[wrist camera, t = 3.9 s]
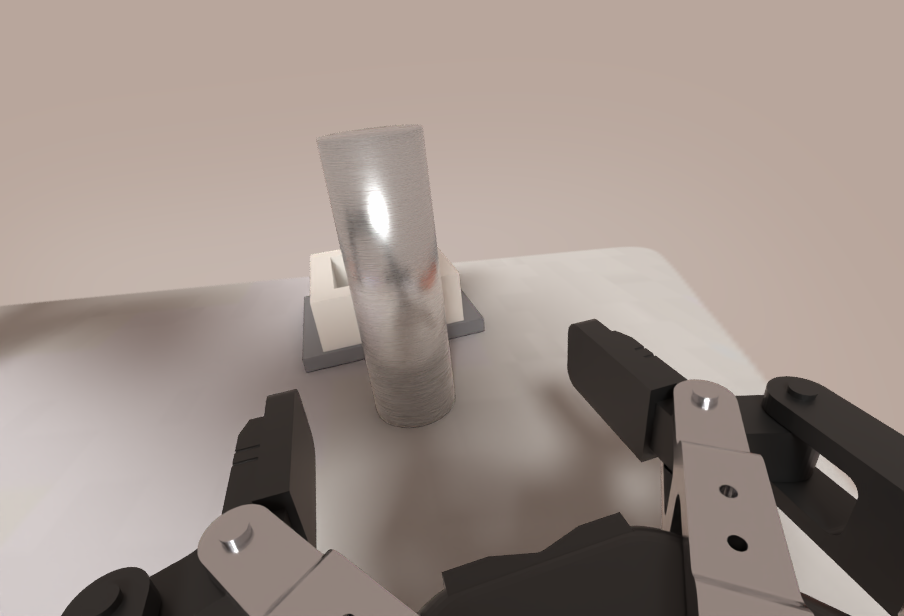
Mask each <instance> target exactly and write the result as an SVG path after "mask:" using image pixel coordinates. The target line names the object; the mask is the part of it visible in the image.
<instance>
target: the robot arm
mask: <svg viewBox="0 0 904 616" xmlns="http://www.w3.org/2000/svg"><path fill="white" fill-rule="evenodd" d="M567 369H568V374H569V378H570V380H571V382H572V384H573V386H574V387H575V388H576V389H577V391H578V392H579V393H580V394H581V395H582V396H583V397H584V398H585V400H586V401H587V402H588V403H589V404H590V405H591V406H592V407H593V408H594V410H595V411H596V412H597V413H598V414H599V415H600V416H601V417H602V419H603V420H604V421H605V422H606V423H607V424H608V425H609V426H610V427H611V429H612V430H613V431H614V432H615V433H616V434H617V435H618V436H619V438H620V439H621V440H622V441H623V442H624V443H625V444H626V445H627V446H628V448H629V449H630V450H631V451H632V452H633V453H634V454H635V455H636V457H637V458H638V459H639V460H640V461H641V462H644V461H647V460H650V459H653V458H656V457H659V459H660V460H661V461H662V467H661V501H662V530H661V529H658V528H652V527H645V526H629V524H628V523H627V522H626V520H625V519H624V518H623V516H622V515H621V513H620V512H619V513H616V514H613V515H610V516H607V517H604V518H601V519H598V520H595V521H592V522H589V523H586V524H583V525H580V526H578V527H577V528H575V529H574V530H572V531H571V532H569V533H568V534H566V535H565V536H564V537H562V538H561V539H559V540H558V541H556V542H555V543H554V544H552V545H551V546H549V547H548V548H546V549H545V550H543V551H541V552H538V553H529V554H516V555H503V556H490V557H486V558H483V559H480V560H477V561H474V562H471V563H468V564H465V565H462V566H459V567H456V568H453V569H450V570H447V571H444V572H442V577H443V582H444V588H445V589H444V590H442V591H441V592H440V593H438V594H437V595H435V596H434V597H433V598H432V599H431V600H430V601H428V602H427V603H426V604H425V605H424V606H423V607H422V609H421V610H420V611H419V612H418V613H415V612H414V611H413V610H412V609H410V608H409V607H408V606H407V605H405V604H404V603H403V602H401V601H400V600H399V599H398V598H396V597H395V596H394V595H393V594H391V593H390V592H389V591H388V590H386V589H385V588H384V587H382V586H381V585H380V584H379V583H377V582H376V581H375V580H374V579H372V578H371V577H370V576H369V575H367V574H366V573H365V572H363V571H362V570H361V569H360V568H358V567H357V566H356V565H355V564H353V563H352V562H351V561H349V560H348V559H347V558H346V557H344V556H343V555H342V554H340V553H339V552H337V551H335V550H332V549H330V550H328V551H327V552H326V553H325V554H323V553H321V552H320V551H318V550H317V549H316V472H315V448H314V442H313V437H312V433H311V430H310V427H309V423H308V420H307V417H306V414H305V411H304V408H303V404H302V401H301V398H300V395H299V392H298V391H297V389H294V390H290V391H286V392H282V393H278V394H273V395H269V396H267V400H266V407H265V413H264V416H263V417H259V418H255V419H251V420H249V421H248V423H247V424H246V426H245V427H244V428H243V430H242V431H241V432H240V434H239V435H238V440H237V444H236V449H235V452H236V454H234V459H233V463H232V464H233V467H232V468H231V473H230V477H229V482H228V487H227V492H226V496H225V501H224V506H223V510H222V515H221V516H220V517H218V518H217V519H216V520H215V521H213V522H212V523H211V525H210V526H209V527H208V528H207V529H206V530H205V532H204V533H203V535H202V537H201V539H200V541H199V544H198V549H196V550H195V551H194V552H192V553H191V554H189V555H188V556H186V557H184V558H183V559H181V560H179V561H177V562H176V563H174V564H172V565H170V566H168V567H167V568H165V569H163V570H161V571H159V572H158V573H156V574H154V575H152V576H150V577H149V576H148V574H147V573H146V572H145V571H144V570H142V569H140V568H137V567H127V568H122V569H118V570H115V571H113V572H110V573H108V574H106V575H104V576H102V577H100V578H99V579H97V580H96V581H94V582H93V583H91V584H90V585H89V586H87V587H86V588H85V589H84V590H82V591H81V592H80V593H79V594H78V595H77V596H76V597H75V598H74V599H73V600H72V601H71V603H70V604H69V605H68V606H67V608H66V609H65V611H64V612H63V614H62V615H61V616H850V615H848V614H846V613H844V612H842V611H840V610H838V609H836V608H833V607H831V606H829V605H827V604H825V603H823V602H821V601H819V600H817V599H814V598H812V597H810V596H808V595H806V594H804V593H802V592H800V590H799V586H798V583H797V579H796V575H795V572H794V568H793V564H792V561H791V557H790V554H789V550H788V546H787V543H786V539H785V535H784V532H783V528H782V524H781V521H780V517H779V514H778V510H777V507H778V508H779V509H780V510H782V511H783V512H784V513H785V514H786V515H787V516H788V517H789V518H790V519H791V520H792V521H793V522H794V523H795V524H796V525H797V526H798V527H799V528H800V529H801V530H802V531H803V532H804V533H805V534H807V535H808V536H809V537H810V538H811V539H812V540H813V541H814V542H815V543H816V544H817V545H818V546H819V547H820V548H821V549H822V550H823V551H824V552H825V553H826V554H827V555H828V556H829V557H830V558H831V559H833V560H834V561H835V562H836V563H837V564H838V565H839V566H840V567H841V568H842V569H843V570H844V571H845V572H846V573H847V574H848V575H849V576H850V577H851V578H852V579H853V580H854V581H855V582H856V583H858V584H859V585H860V586H861V587H862V588H863V589H864V590H865V591H866V592H867V593H868V594H869V595H870V596H871V597H872V598H873V599H874V600H875V601H876V602H877V603H878V604H879V605H880V606H881V607H883V608H884V609H885V610H886V611H887V612H888V613H889V614H890V615H891V616H904V436H903V435H902V434H900V433H898V432H897V431H895V430H894V429H892V428H890V427H889V426H887V425H885V424H884V423H882V422H881V421H879V420H877V419H876V418H874V417H872V416H871V415H869V414H868V413H866V412H864V411H863V410H861V409H860V408H858V407H856V406H855V405H853V404H851V403H850V402H848V401H847V400H845V399H843V398H842V397H840V396H838V395H837V394H835V393H834V392H832V391H830V390H829V389H827V388H826V387H824V386H822V385H820V384H818V383H815V382H813V381H810V380H807V379H803V378H798V377H787V376H786V377H777V378H774V379H772V380H770V381H769V382H768V383H767V386H766V390H765V393H764V395H749V396H735V395H734V394H733V393H732V392H731V391H729V390H728V389H727V388H725V387H723V386H721V385H719V384H716V383H713V382H710V381H705V380H687V379H686V378H684V377H683V376H682V375H680V374H679V373H678V372H677V371H675V370H674V369H673V368H671V367H670V366H669V365H667V364H666V363H665V362H663V361H662V360H661V359H659V358H658V357H657V356H654V355H653V353H652V352H650V351H649V350H648V349H646V348H644V346H642V345H641V344H640V343H638V342H637V341H636V340H635V339H633V338H632V337H630V336H627V335H625V334H622V333H620V332H617V331H611V330H609V329H608V328H607V327H606V326H604V325H603V324H602V323H601V322H599V321H598V320H596V319H592V320H588V321H583V322H579V323H575V324H571V325H570V327H569V330H568V362H567ZM820 454H821V455H822V456H823V457H825V458H826V459H827V460H829V461H830V462H831V463H833V464H834V465H835V466H837V467H838V468H839V469H840V470H842V471H843V472H844V473H846V474H847V475H848V476H849V477H850V478H851V479H852V481H853V482H854V484H855V485H856V487H857V490H858V499H857V500H856V499H855V498H854V497H853V496H851V495H850V494H849V493H848V492H846V491H845V490H844V489H843V488H841V487H840V486H839V485H838V484H836V483H835V482H834V481H833V480H831V479H830V478H829V477H828V476H826V475H825V474H824V473H823V472H821V471H820V470H819V469H818V468H816V467H815V466H816V463H817V460H818V458H819V455H820Z"/></svg>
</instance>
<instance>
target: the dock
mask: <svg viewBox="0 0 904 616" xmlns="http://www.w3.org/2000/svg"><path fill="white" fill-rule="evenodd" d="M437 249H438V257H439V266H440V274H441V282H442V290H443V299H444V307H445V315H446V323H447V332H448V339H451V338H456V337H460V336H464V335H468V334H473V333H477V332H481V331H484V320H483V317H482V316H481V314H480V313H479V312H478V310H477V309H476V308H475V307H474V305H473V304H472V303H471V301H470V300H469V299H468V298H467V296H466V295H465V294H464V292H463V291H462V290H461V287H460V277H459V272H458V271H457V270H456V268H455V267H454V266H453V265H452V264H451V263H450V261H449V260H448V259H447V258H446V257H445V255H444V254H443V253H442V252H441V251H440V249H439V248H438V247H437ZM362 359H365V356H364V351H363V347H362V342H361V338H360V333H359V329H358V324H357V320H356V315H355V311H354V307H353V302H352V298H351V293H350V289H349V284H348V280H347V275H346V271H345V266H344V262H343V257H342V253H341V249H339V250H334V251H328V252H323V253H318V254H312V255H310V296H306V297H304V323H303V356H302V360H303V363H304V366H305V370H306V372H311V371H315V370H319V369H323V368H328V367H332V366H336V365H340V364H345V363H349V362H353V361H358V360H362Z"/></svg>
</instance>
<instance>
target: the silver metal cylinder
mask: <svg viewBox="0 0 904 616" xmlns="http://www.w3.org/2000/svg"><path fill="white" fill-rule="evenodd" d="M316 141H317V146H318V150H319V155H320V159H321V163H322V168H323V173H324V177H325V182H326V186H327V190H328V195H329V199H330V204H331V208H332V213H333V217H334V222H335V226H336V231H337V234H338V240H339V244H340V249H341V253H342V257H343V262H344V266H345V271H346V275H347V280H348V284H349V289H350V293H351V298H352V302H353V307H354V311H355V315H356V320H357V324H358V329H359V333H360V338H361V342H362V347H363V351H364V356H365V360H366V365H367V369H368V373H369V378H370V382H371V387H372V391H373V396H374V400H375V405H376V409H377V413H378V415H379V416H380V417H381V419H382V420H384V421H385V422H387V423H388V424H391V425H394V426H397V427H407V428H410V427H420V426H424V425H427V424H430V423H433V422H435V421H437V420H439V419H440V418H442V417H443V416H445V415H446V414H447V413H448V412H449V411H450V410H451V408H452V407H453V405H454V402H455V390H454V381H453V373H452V365H451V357H450V348H449V340H448V332H447V323H446V315H445V307H444V299H443V290H442V282H441V274H440V266H439V257H438V249H437V242H436V233H435V224H434V216H433V208H432V199H431V191H430V183H429V175H428V166H427V158H426V150H425V142H424V133H423V126H421V125H395V126H384V127H374V128H366V129H359V130H352V131H346V132H340V133H334V134H330V135H325V136H322V137H319V138H317V139H316Z"/></svg>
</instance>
